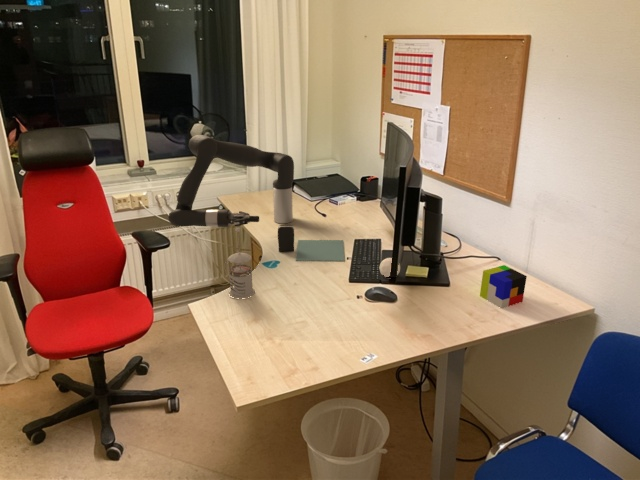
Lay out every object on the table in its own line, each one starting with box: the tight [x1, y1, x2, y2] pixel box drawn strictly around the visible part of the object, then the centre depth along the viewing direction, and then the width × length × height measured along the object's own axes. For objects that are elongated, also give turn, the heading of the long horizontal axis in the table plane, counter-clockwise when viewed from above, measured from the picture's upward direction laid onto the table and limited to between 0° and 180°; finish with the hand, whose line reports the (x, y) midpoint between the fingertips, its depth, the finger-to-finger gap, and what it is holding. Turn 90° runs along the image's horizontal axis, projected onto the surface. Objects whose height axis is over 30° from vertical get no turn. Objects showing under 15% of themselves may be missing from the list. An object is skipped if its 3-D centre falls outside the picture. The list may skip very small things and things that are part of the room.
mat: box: [295, 239, 345, 262], centre depth 218 cm, size 22×20×1 cm
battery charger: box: [277, 224, 295, 253], centre depth 216 cm, size 7×4×11 cm, turn 94°
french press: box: [223, 227, 256, 299], centre depth 178 cm, size 10×12×25 cm
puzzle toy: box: [479, 264, 527, 309], centre depth 177 cm, size 10×10×10 cm
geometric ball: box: [378, 257, 401, 278], centre depth 193 cm, size 8×8×8 cm
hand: (259, 219), depth 215 cm, fingers closed
